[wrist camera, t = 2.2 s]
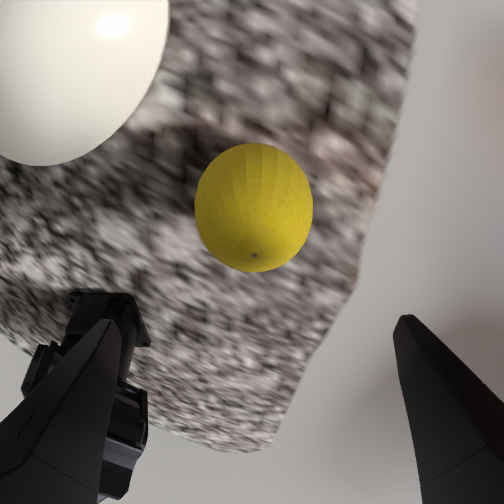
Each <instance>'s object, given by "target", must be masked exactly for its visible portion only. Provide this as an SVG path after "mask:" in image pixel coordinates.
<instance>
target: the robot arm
mask: <svg viewBox="0 0 504 504" xmlns="http://www.w3.org/2000/svg"><path fill="white" fill-rule="evenodd" d="M67 299H68V301H69V303H70V305H71V307H72V309H73V314H72V316H71V318H70V320H69V322H68V324H67V327H66V329H65V333H66V334H65V336H64V338H63V341H62V343H61V345H60V346H59V345H58V343H57V342H55V341H53V340H52V341H51V342H50V344H49V346H48V345H43V344H39V345H38V347H37V349H36V351H35V354H34V356H33V358H32V360H31V363H30V365H29V368H28V370H27V373H26V375H25V378H24V381H23V383H22V386H21V391H22V394H23V396H24V400H23V401H22V402H21V403H20V404H19V405H18V406H17V407H16V408H15V409H14V410H13V411H12V412H11V413H10V414H9V415H8V416H7V417H6V418H5V419H4V420H3V421H2V422H0V504H98V503H100V502H101V501H103V500H104V499H106V498H107V497H109V498H113V499H116V500H119V499H121V498H122V497H123V496H124V495H125V493H127V491H128V488H129V483H130V479H131V476H132V472H133V469H134V466H135V463H136V461H137V459H138V458H139V457H140V456H141V454H142V452H143V451H144V448H145V446H146V442H147V438H148V401H147V391H145V390H143V389H139V388H136V387H134V386H132V385H130V384H128V383H126V379H127V375H128V371H129V367H130V363H131V359H132V356H133V352H134V348H135V347H150V344H151V340H150V338H149V335H148V333H147V330H146V328H145V325H144V323H143V320H142V317H141V315H140V312H139V310H138V307H137V304H136V302H135V299H134V297H132V296H131V295H118V294H84V293H70V294H69V296H68V298H67ZM393 341H394V347H395V354H396V360H397V367H398V375H399V380H400V385H401V389H402V393H403V397H404V402H405V406H406V411H407V415H408V420H409V425H410V430H411V434H412V440H413V445H414V450H415V456H416V461H417V468H418V474H419V481H420V485H421V486H420V488H421V495H422V503H423V504H504V403H503V402H502V401H501V400H500V399H499V398H498V397H497V396H496V395H495V394H494V393H493V392H492V391H491V390H490V389H489V388H488V387H487V386H486V385H485V384H484V383H482V381H481V380H480V379H479V378H478V377H477V376H476V375H475V374H474V373H473V372H472V371H471V370H470V369H469V368H468V367H467V366H466V365H465V364H464V363H463V362H462V361H461V360H460V359H459V358H458V357H457V356H456V355H455V354H454V353H453V352H452V351H451V350H450V349H449V348H448V347H447V346H446V345H445V344H444V343H443V342H442V341H441V340H440V339H439V338H438V337H437V336H436V335H435V334H434V333H433V332H431V331H430V330H429V329H428V328H427V327H426V326H425V325H424V324H423V323H422V322H421V321H420V320H419V319H418V318H416V317H415V316H414V315H412V314H408V315H402V316H401V317H400V318H399V321H398V323H397V325H396V327H395V329H394V332H393ZM48 372H49V373H48Z"/></svg>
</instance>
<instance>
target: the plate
mask: <svg viewBox="0 0 504 504" xmlns="http://www.w3.org/2000/svg"><path fill="white" fill-rule="evenodd" d="M170 25H171V2H170V0H0V155H2V156H4V157H5V158H7V159H9V160H12V161H15V162H18V163H21V164H26V165H31V166H49V165H57V164H61V163H65V162H69V161H71V160H73V159H76V158H78V157H81V156H83V155H84V154H86V153H88V152H89V151H91V150H93V149H95V148H96V147H97V146H99V145H100V144H101V143H102V142H104V141H105V140H106V139H108V138H109V137H110V136H111V135H113V134H114V133H115V132H116V131H117V130H118V129H119V128H120V127H121V126H122V125H124V124H125V123H126V122H127V121H128V119H129V118H130V117H131V116H132V115H133V113H134V112H135V111H136V110H137V109H138V107H139V106H140V104H141V103H142V101H143V100H144V98H145V97H146V95H147V94H148V92H149V90H150V88H151V86H152V84H153V83H154V81H155V79H156V77H157V74H158V72H159V69H160V67H161V64H162V62H163V59H164V55H165V51H166V48H167V44H168V39H169V32H170Z"/></svg>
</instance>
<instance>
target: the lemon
mask: <svg viewBox="0 0 504 504" xmlns="http://www.w3.org/2000/svg"><path fill="white" fill-rule="evenodd" d="M312 208H313V200H312V195H311V191H310V187H309V183H308V180H307V178H306V176H305V175H304V173H303V171H302V170H301V168H300V166H299V165H298V164H297V163H296V162H295V161H294V160H293V159H292V158H291V157H290V156H289V155H288V154H286V153H285V152H283V151H281V150H279V149H277V148H276V147H273V146H270V145H266V144H262V143H246V144H241V145H237V146H234V147H232V148H230V149H228V150H226V151H224V152H222V153H221V154H220V155H218V156H217V157H216V158H215V159H214V160H213V161H212V162H211V163H210V164H209V165H208V167H207V168H206V170H205V172H204V173H203V175H202V177H201V178H200V181H199V184H198V188H197V191H196V195H195V220H196V225H197V228H198V231H199V234H200V237H201V240H202V241H203V243H204V245H205V246H206V248H207V249H208V251H209V252H210V253H211V254H212V255H213V256H214V257H215V258H217V259H218V260H219V261H220V262H221V263H223V264H225V265H227V266H229V267H230V268H233V269H237V270H240V271H245V272H263V271H267V270H271V269H274V268H277V267H279V266H281V265H283V264H284V263H286V262H287V261H289V260H290V259H291V258H292V257H293V256H294V255H295V254H296V253H298V251H299V250H300V248H301V247H302V245H303V244H304V242H305V240H306V238H307V235H308V232H309V230H310V226H311V223H312Z"/></svg>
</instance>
